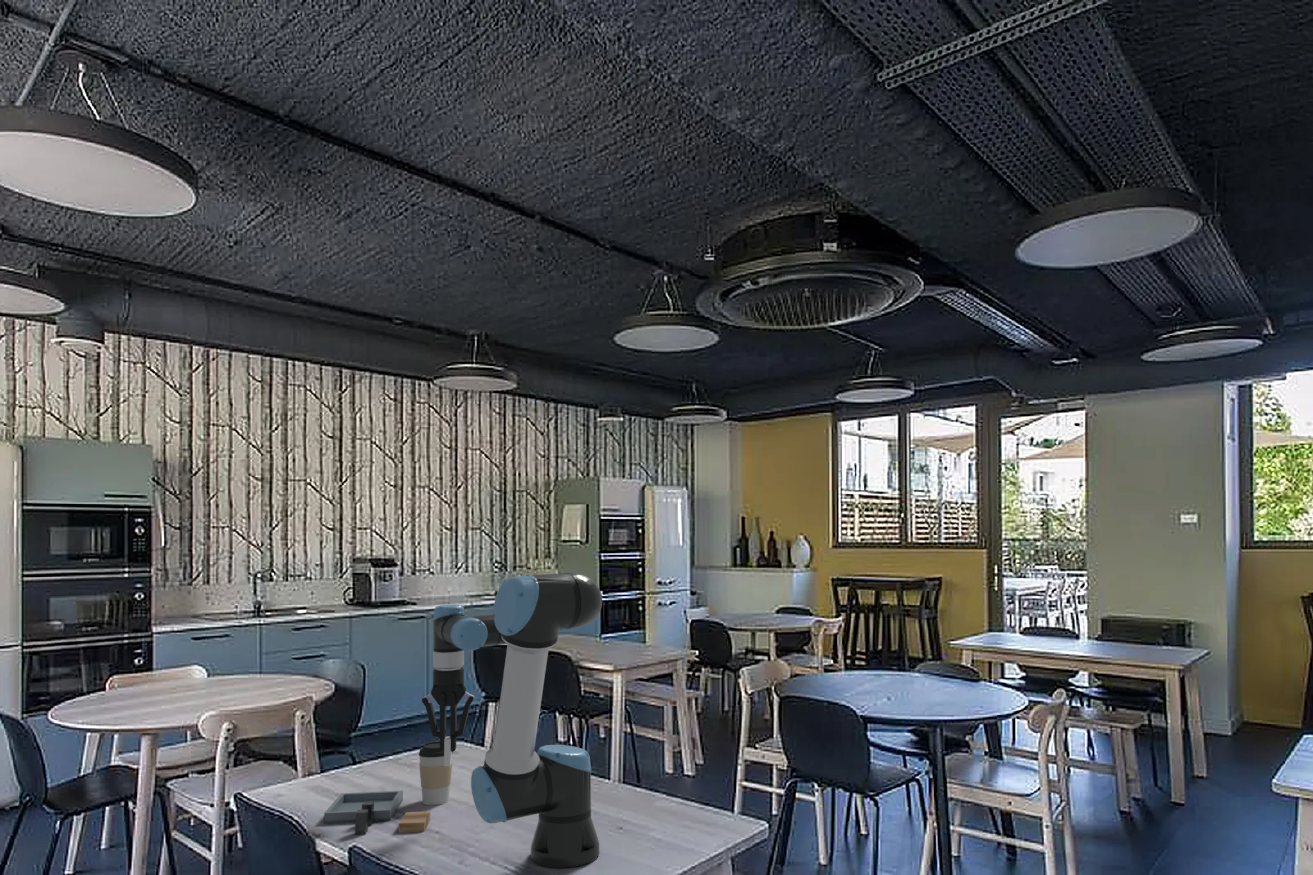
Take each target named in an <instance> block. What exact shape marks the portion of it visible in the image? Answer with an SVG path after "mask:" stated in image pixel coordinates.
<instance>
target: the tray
mask: <svg viewBox="0 0 1313 875" xmlns="http://www.w3.org/2000/svg"><path fill="white" fill-rule="evenodd" d="M403 798H404V791H403V790H389V791H387V790H386V791H384V790H383V791H363V792H362V791H361V792H342V793H340V795H338V797H337V798H336V799H335V800H334V801H333V802H332V803H331V805H330V806H329V807H328V808H327V809H326V810H325V812H324V813H323V824H326V825H327V824H342V823H344V824H345V823H347V824H348V823H355V820H356V812H357V811H358V810H362V804H363V803H364V802H374V822H381V821H382V822H384V821H387V822H388V821H391V820H392V818H393V816H394V815H395V814H396V813H397V811H398V809H399V807H400V805H401V804H402V802H403V800H404V799H403Z"/></svg>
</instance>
